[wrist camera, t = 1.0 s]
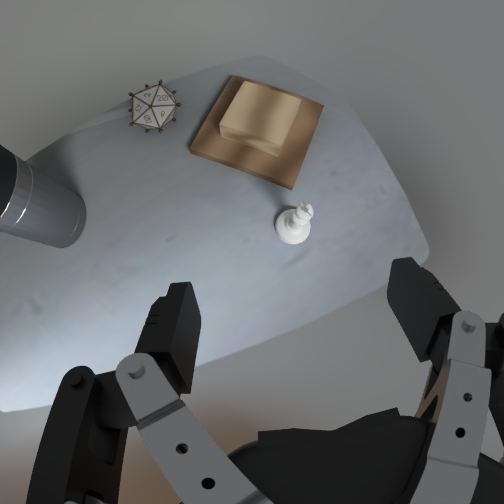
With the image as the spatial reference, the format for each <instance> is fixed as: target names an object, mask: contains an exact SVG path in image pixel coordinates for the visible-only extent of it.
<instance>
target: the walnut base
mask: <svg viewBox="0 0 504 504" xmlns="http://www.w3.org/2000/svg"><path fill="white" fill-rule="evenodd" d="M323 107H324V105H321V104H319V103H316V102H314V101H311V100H309V99H306V98H303V97H301V96H298V95H295V94H292V93H290V92H287V91H284V90H281V89H278V88H275V87H272V86H269V85H266V84H262V83H259V82H256V81H252V80H249V79H245V78H242V77H238V76H234V75H233V76H232V78H231V79H230V81H229V82H228V84H227V85H226V87H225V89H224V90H223V92H222V93H221V95H220V97H219V98H218V100H217V101H216V103H215V105H214V106H213V108H212V110H211V111H210V113H209V115H208V116H207V118H206V120H205V122H204V123H203V125H202V127H201V129H200V130H199V132H198V134H197V136H196V137H195V139H194V141H193V143H192V145H191V147H190V148H189V149H190V152H191V154H195V155H198V156H201V157H204V158H206V159H209V160H212V161H215V162H218V163H221V164H224V165H227V166H229V167H232V168H235V169H238V170H241V171H243V172H246V173H249V174H251V175H254V176H257V177H259V178H262V179H264V180H267V181H270V182H272V183H275V184H277V185H280V186H282V187H285V188H287V189H290V190H292V188H293V186H294V184H295V181H296V178H297V176H298V173H299V171H300V168H301V165H302V163H303V160H304V158H305V155H306V152H307V150H308V147H309V144H310V142H311V139H312V136H313V134H314V131H315V128H316V126H317V123H318V120H319V118H320V115H321V112H322V110H323Z"/></svg>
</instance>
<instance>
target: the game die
mask: <svg viewBox="0 0 504 504" xmlns="http://www.w3.org/2000/svg"><path fill="white" fill-rule="evenodd" d="M161 84H162V80H160V81H159V84H158V85H155V86H152V87H148V85H146V86H145V87H146V89H144V90H142V91H140V92H138V93H136V94H134V95H133V93H129V95H130V96H132V109H129V110H128V111H129V112H130V111H132V119H133V122H131V123H130V125H129V126H132V125H133V124H137V125H139V126H142V127H144V128H146V133H147V132H149V129H159V132H160V133H162V131H163V130H162V129H161V128H162V127H163V126H164V125H165V124H167V123H168V122H169V121H170V120H173V121H176V119H175V118H173V116H174V113H175V109H176V106H179V107H180V106H181V105H182V104H180V103H178V104H176V101H175V98H174V96H173V94H175V93H176V91H173V92H170V91H169V90H167V89H166V88H165V87H163V86H162V85H161Z"/></svg>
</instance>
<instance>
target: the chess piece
mask: <svg viewBox="0 0 504 504" xmlns="http://www.w3.org/2000/svg"><path fill="white" fill-rule="evenodd" d="M313 213H314V212H313V208H312V207H311V206H310V205H309V204H307V203H305V202H304V201H303V202H302V203H301V204H299V205H298V206H297V208H296V209H289V210H286V211H284V212H282V213H281V214H280V215H279V216H278V218H277V220H276V224H275V229H276V232H277V235H278V236H279V238H280V239H281V240H283V241H284V242H286V243H289V244H298V243H301V242H303V241H304V240H305V239H306V238H307V237H308V235H309V232H310V221H309V219H310V218H311V217H312V216H313Z"/></svg>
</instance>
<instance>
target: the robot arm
mask: <svg viewBox="0 0 504 504" xmlns="http://www.w3.org/2000/svg"><path fill="white" fill-rule="evenodd" d="M85 220H86V209H85V205H84V202H83V201H82V199H81V198H80V197H79V196H78V195H77V194H75V193H73V192H72V191H70V190H69V189H67V188H65V187H64V186H62V185H61V184H59V183H58V182H56V181H54V180H53V179H51V178H50V177H48V176H47V175H45V174H43V173H42V172H40V171H39V170H37V169H36V168H34V167H33V166H31V165H29V164H28V163H26V162H25V161H23V160H22V159H20V158H19V157H17V156H15V155H14V154H13V153H12V152H10V151H9V150H7V149H6V148H4V147H3V146H1V145H0V232H4V233H7V234H11V235H14V236H17V237H21V238H24V239H28V240H32V241H35V242H39V243H42V244H46V245H50V246H54V247H57V248H65V247H68V246H70V245H71V244H73V243H74V242H75V241H76V240H77V239H78V237H79V236H80V234H81V232H82V230H83V228H84V225H85ZM387 299H388V303H389V305H390V307H391V308H392V311H393V312H394V314H395V316H396V318H397V319H398V321H399V323H400V325H401V327H402V329H403V330H404V332H405V334H406V336H407V338H408V340H409V342H410V344H411V345H412V347H413V350H414V351H415V353H416V355H417V357H418V359H419V361H420V362H424V361H427V360H431V361H432V365H431V367H430V370H429V374H428V377H427V381H426V385H425V388H424V392H423V395H422V398H421V402H420V404H419V407H418V409H417V412H416V413H415V415H414V417H412V416H400V414H399V411H398V408H397V407H396V408H393V409H389V410H385V411H382V412H378V413H374V414H370V415H366V416H364V417H362V418H360V419H358V420H356V421H354V422H351V423H349V424H347V425H345V426H343V427H340V428H338V429H336V430H332V431H325V430H324V431H323V430H309V429H297V428H292V429H282V430H272V431H259V432H258V440H257V441H253V442H250V443H248V444H245V445H243V446H241V447H239V448H237V449H236V450H234V451H233V452H231V453H230V454H228V455H227V456H226V455H225V454H224V452H223V451H222V450H221V449H220V448H219V447H218V445H217V444H216V443H215V442H214V441H213V439H212V438H211V437H210V436H209V434H208V433H207V432H206V431H205V429H204V428H203V427H202V426H201V424H200V423H199V422H198V420H197V419H196V418H195V417H194V415H193V414H192V413H191V411H190V410H189V408H188V407H187V406H186V404H185V403H184V402H183V401H182V400H181V399H180V395H181V394H190V393H191V386H192V379H193V372H194V366H195V360H196V354H197V348H198V341H199V335H200V329H201V315H200V311H199V307H198V304H197V300H196V297H195V293H194V290H193V286H192V284H191V282H179V283H171V284H170V287H169V289H168V292H167V295H166V296H164V297H159V298H158V299H157V300H156V301H155V303H154V304H153V305H152V306H151V309H150V311H149V314H148V317H147V319H146V322H145V325H144V327H143V330H142V332H141V335H140V338H139V341H138V343H137V346H136V349H135V352H134V354H131V355H129V356H127V357H125V358H124V359H123V360H122V361H121V362H120V363H119V364H118V366H117V369H116V370H115V371H111V372H106V373H102V374H97V375H95V374H94V372H93V371H92V370H91V369H90V368H89V367H87V366H77V367H74V368H72V369H71V370H69V371H68V372H67V373H66V374H65V376H64V377H63V379H62V381H61V384H60V386H59V389H58V392H57V394H56V397H55V400H54V402H53V405H52V408H51V411H50V414H49V417H48V420H47V422H46V426H45V429H44V432H43V435H42V439H41V442H40V445H39V449H38V452H37V456H36V460H35V463H34V468H33V471H32V476H31V480H30V485H29V490H28V495H27V500H26V504H118V495H119V487H120V479H121V471H122V464H123V457H124V451H125V445H126V438H127V433H128V427H132V426H136V427H137V429H138V432H139V433H140V435H141V437H142V439H143V441H144V442H145V444H146V446H147V448H148V450H149V451H150V453H151V455H152V456H153V458H154V460H155V461H156V463H157V465H158V466H159V468H160V469H161V471H162V473H163V474H164V476H165V477H166V479H167V480H168V481H169V483H170V485H171V486H172V488H173V489H174V490H175V492H176V493H177V495H178V496H179V497H180V499H181V500H182V502H180V503H179V504H504V453H503V457H502V458H501V459H500V461H499V462H497V461H495V460H493V459H492V458H490V457H488V456H486V455H484V454H482V453H481V452H480V449H481V444H482V440H483V435H484V430H485V424H486V418H487V412H488V407H489V409H490V411H491V414H492V416H493V419H494V421H495V424H496V427H497V429H498V432H499V435H500V437H501V440H502V443H503V446H504V313H503V314H502V315H501V317H500V319H499V322H498V323H484V321H483V320H482V318H481V317H480V316H478V315H477V314H476V313H473V312H471V311H462V310H461V309H460V307H459V306H458V305H457V304H456V302H455V301H454V300H453V298H452V297H451V296H450V295H449V293H448V292H447V291H446V290H444V287H443V286H442V285H441V283H439V281H438V280H437V279H436V277H435V276H434V275H433V274H432V273H431V272H429V271H428V270H426V269H424V268H421V267H420V266H419V265H418V264H417V263H416V262H415V260H414V259H413V258H412V257H407V258H399V259H394V260H393V262H392V266H391V272H390V277H389V283H388V289H387Z"/></svg>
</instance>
